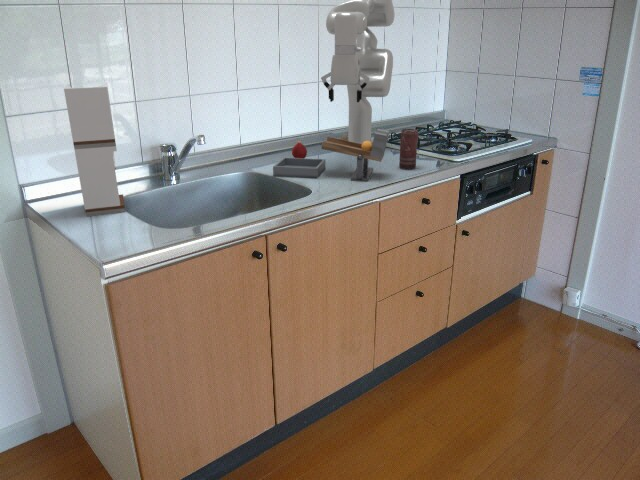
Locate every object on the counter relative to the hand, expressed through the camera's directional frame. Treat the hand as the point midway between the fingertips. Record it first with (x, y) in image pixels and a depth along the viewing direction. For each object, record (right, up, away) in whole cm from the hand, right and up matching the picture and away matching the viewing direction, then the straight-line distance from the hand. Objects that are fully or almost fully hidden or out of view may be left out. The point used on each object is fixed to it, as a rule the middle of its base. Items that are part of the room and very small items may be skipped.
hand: (345, 101), depth 197 cm
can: (+24, -23, +7) cm, 34 cm away
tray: (-16, -25, +2) cm, 30 cm away
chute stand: (+6, -27, -2) cm, 28 cm away
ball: (+7, -17, -6) cm, 20 cm away
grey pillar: (-72, -41, -35) cm, 90 cm away
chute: (+3, -18, -1) cm, 18 cm away
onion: (-17, -19, +18) cm, 31 cm away
